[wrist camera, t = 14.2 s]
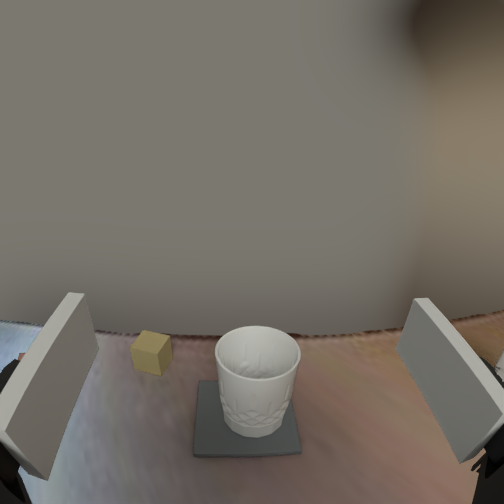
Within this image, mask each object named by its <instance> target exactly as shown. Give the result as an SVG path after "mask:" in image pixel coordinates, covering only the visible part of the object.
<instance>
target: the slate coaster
mask: <svg viewBox="0 0 504 504" xmlns="http://www.w3.org/2000/svg"><path fill="white" fill-rule="evenodd" d="M301 451H302V450H301V445H300V440H299V435H298V430H297V426H296V421H295V416H294V411H293V406H292V401H291V398H290V401H289V404H288V407H287V409H286V411H285V415H284V418H283V421H282V424H281V426H280V427H279V428H278V429H277V430H276V431H274V432H273V433H272V434H270V435H266V436H263V437H259V438H254V437H244V436H242V435H240V434H238V433H236V432H234V431H232V430H231V429H230V428H229V426H228V425H227V424H226V422H225V421H224V412H223V406H222V403H221V399H220V393H219V385H218V381H199V388H198V399H197V411H196V423H195V436H194V450H193V455H194V456H202V457H259V456H278V455H291V454H301Z"/></svg>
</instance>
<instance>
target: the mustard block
mask: <svg viewBox="0 0 504 504" xmlns="http://www.w3.org/2000/svg"><path fill="white" fill-rule="evenodd" d="M130 350H131V355H132V359H133V363H134V367H135V369H136V370H140V371H143V372H147V373H150V374H154V375H158V376H162V375H163V373H164V372H165V370H166V368H167V367H168V365H169V363H170V362H171V360H172V358H173V355H172V348H171V341H170V336H168V335H164V334H159V333H155V332H150V331H146V330H143V331H142V332H141V334H140V335H139V336H138V337H137V339H136V340H135V341H134V342H133V344H132V345H131V346H130Z"/></svg>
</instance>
